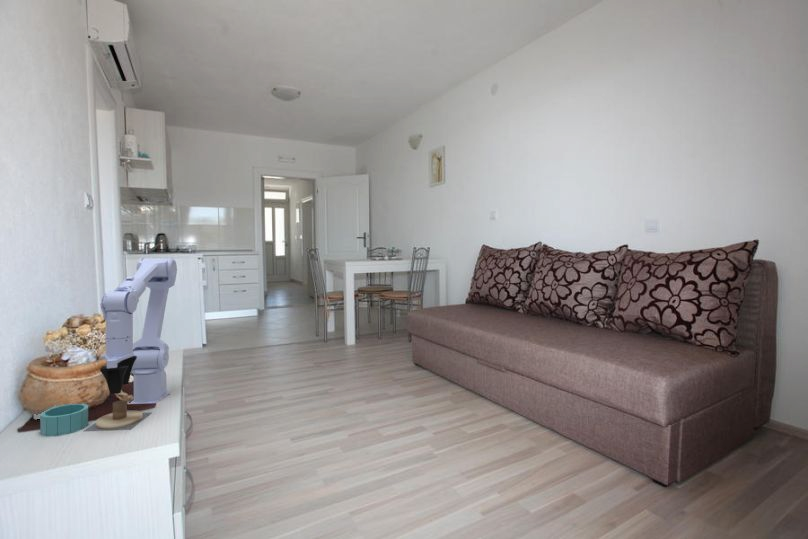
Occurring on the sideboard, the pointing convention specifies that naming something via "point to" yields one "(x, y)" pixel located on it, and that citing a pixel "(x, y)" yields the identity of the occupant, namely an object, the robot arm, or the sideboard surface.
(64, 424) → the bowl
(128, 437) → the sideboard surface
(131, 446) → the sideboard surface
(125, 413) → the lid
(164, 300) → the robot arm
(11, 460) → the sideboard surface
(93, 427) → the mat
